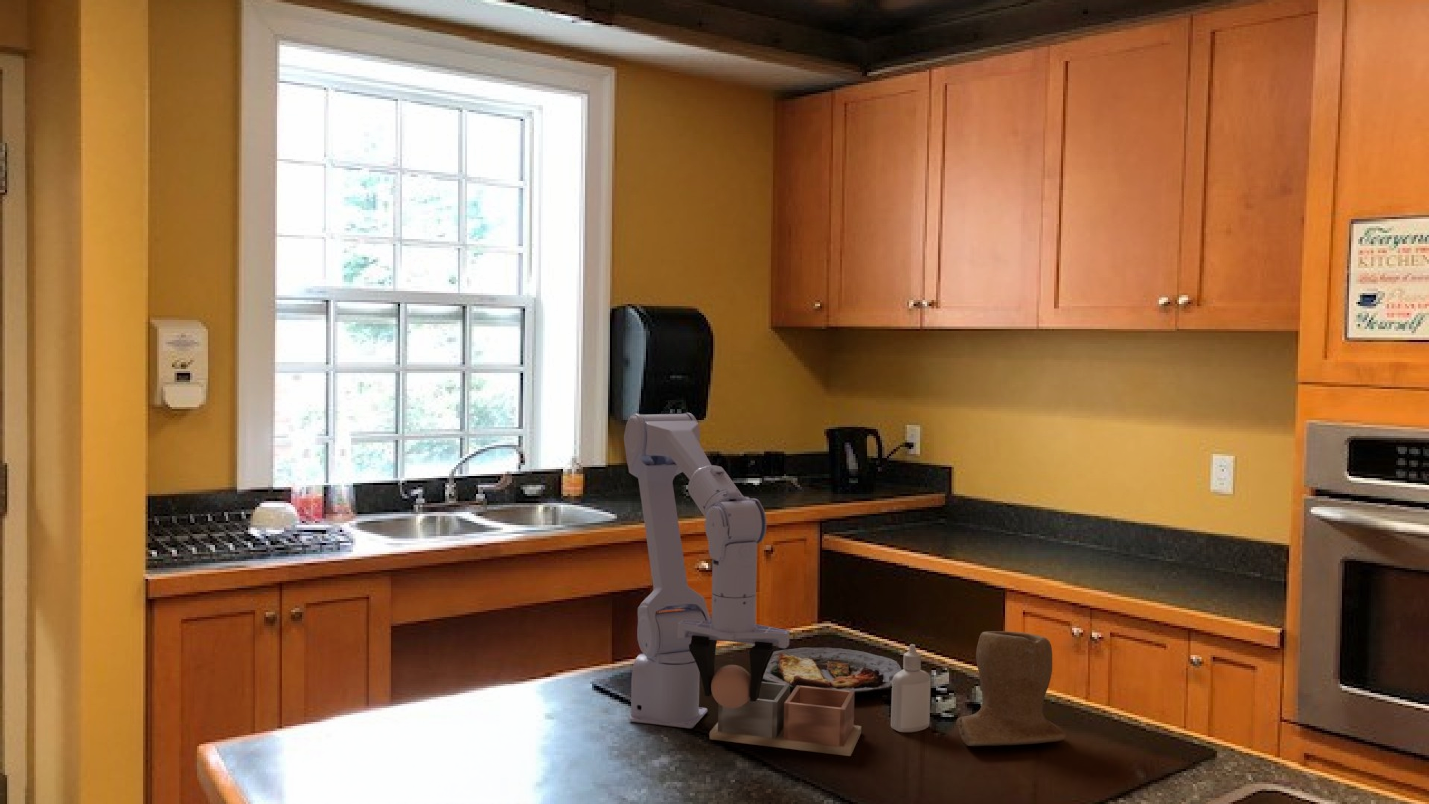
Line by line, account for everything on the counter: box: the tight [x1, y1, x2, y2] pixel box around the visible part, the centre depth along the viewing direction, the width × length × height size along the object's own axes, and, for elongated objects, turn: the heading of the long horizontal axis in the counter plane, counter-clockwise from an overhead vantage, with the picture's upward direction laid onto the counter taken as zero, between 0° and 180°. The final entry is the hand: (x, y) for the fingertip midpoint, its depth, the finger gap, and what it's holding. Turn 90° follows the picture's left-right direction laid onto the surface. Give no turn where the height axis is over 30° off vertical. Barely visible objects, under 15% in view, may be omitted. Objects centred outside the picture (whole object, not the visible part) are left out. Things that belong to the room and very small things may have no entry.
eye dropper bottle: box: [890, 643, 931, 733], centre depth 163 cm, size 4×6×12 cm
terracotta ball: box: [711, 664, 751, 708], centre depth 149 cm, size 6×6×6 cm
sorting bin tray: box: [709, 681, 862, 757], centre depth 159 cm, size 19×9×6 cm, turn 74°
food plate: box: [763, 646, 903, 694], centre depth 185 cm, size 25×23×4 cm
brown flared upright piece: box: [955, 630, 1066, 747], centre depth 159 cm, size 15×12×15 cm
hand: (731, 696), depth 149 cm, fingers closed on terracotta ball, 5 cm apart
